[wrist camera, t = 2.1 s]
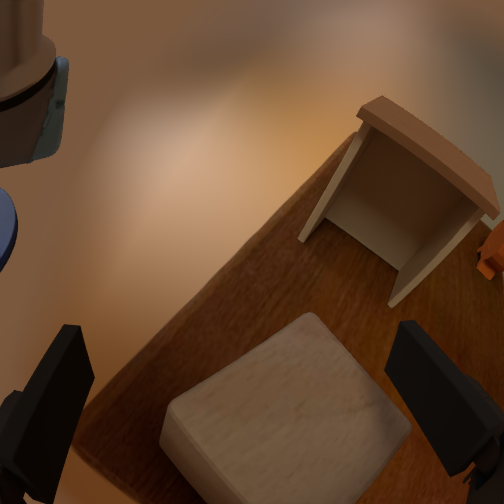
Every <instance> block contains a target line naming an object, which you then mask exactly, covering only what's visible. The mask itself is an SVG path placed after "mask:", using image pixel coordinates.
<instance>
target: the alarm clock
mask: <svg viewBox="0 0 504 504" xmlns="http://www.w3.org/2000/svg"><path fill="white" fill-rule="evenodd" d="M478 253H479V254H480V255H481V259H480V260H479V262H478V263H477V269H478V270H479V271H480V272H481V273H482V274H483V275H484V276H485V277H486V278H487V279H488V280H489V281H490V280H491V278H492V277H493V276H494V274H495V273H496V272H497V273H499V272H503V271H504V220H503V221H502V222H500V223H499V224H498V225H497V226H496V227H495V228H494V229H493V231H492V232H491V233H490V235H489V236H488V238H487V239H486V241H485V243H484V245H482V246H481V247H480V248H478Z"/></svg>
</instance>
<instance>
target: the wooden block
mask: <svg viewBox="0 0 504 504" xmlns="http://www.w3.org/2000/svg"><path fill="white" fill-rule="evenodd" d="M411 430H412V425H411V423H410V422H409V420H408V419H407V418H406V417H405V416H404V415H403V414H402V412H401V411H400V410H399V409H398V408H397V407H396V406H395V404H394V403H393V402H392V401H391V400H390V399H389V398H388V396H387V395H386V394H385V393H384V392H383V391H382V390H381V388H380V387H379V386H378V385H377V384H376V383H375V382H374V380H373V379H372V378H371V377H370V376H369V375H368V374H367V372H366V371H365V370H364V369H363V368H362V367H361V366H360V364H359V363H358V362H357V361H356V360H355V359H354V358H353V357H352V355H351V354H350V353H349V352H348V351H347V350H346V349H345V347H344V346H343V345H342V344H341V343H340V342H339V341H338V339H337V338H336V337H335V336H334V335H333V334H332V333H331V332H330V330H329V329H328V328H327V327H326V326H325V325H324V324H323V322H322V321H321V320H320V319H319V318H318V317H317V316H316V315H315V314H314V313H312V312H309V313H305V314H303V315H301V316H300V317H299V318H297V319H296V320H294V321H293V322H292V323H290V324H289V325H287V326H286V327H285V328H283V329H282V330H280V331H279V332H277V333H276V334H274V335H273V336H272V337H270V338H269V339H267V340H266V341H264V342H263V343H261V344H260V345H258V346H257V347H255V348H254V349H252V350H251V351H249V352H248V353H246V354H245V355H243V356H242V357H240V358H239V359H237V360H236V361H234V362H233V363H231V364H230V365H228V366H226V367H225V368H223V369H222V370H220V371H219V372H217V373H215V374H214V375H212V376H211V377H209V378H207V379H206V380H204V381H203V382H201V383H199V384H198V385H196V386H195V387H193V388H191V389H190V390H188V391H186V392H185V393H183V394H181V395H180V396H178V397H176V398H175V399H173V400H172V401H171V402H170V404H169V405H168V408H167V412H166V416H165V420H164V424H163V428H162V432H161V436H160V440H159V445H160V447H161V448H162V449H163V451H164V452H165V453H166V455H167V456H168V457H169V459H170V460H171V461H172V462H173V464H174V465H175V466H176V468H177V469H178V470H179V471H180V473H181V474H182V475H183V476H184V477H185V479H186V480H187V481H188V482H189V483H190V485H191V486H192V487H193V488H194V489H195V490H196V492H197V493H198V494H199V495H200V496H201V497H202V498H203V500H204V501H205V502H206V503H207V504H354V503H355V502H356V501H357V500H358V499H359V498H360V497H361V495H362V494H363V493H364V492H365V491H366V490H367V489H368V487H369V486H370V485H371V484H372V483H373V481H374V480H375V479H376V478H377V476H378V475H379V474H380V473H381V471H382V470H383V469H384V468H385V466H386V465H387V464H388V462H389V461H390V460H391V458H392V457H393V456H394V454H395V453H396V452H397V450H398V449H399V448H400V446H401V445H402V443H403V442H404V441H405V439H406V438H407V436H408V435H409V433H410V432H411Z"/></svg>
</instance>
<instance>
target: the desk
mask: <svg viewBox="0 0 504 504" xmlns="http://www.w3.org/2000/svg"><path fill="white" fill-rule="evenodd" d="M356 116H357V117H358V118H360V119H361V120H363V123H362V125H361V127H360V129H359V130H358V132H357V134H356V136H355V138H354V139H353V141H352V143H351V145H350V147H349V149H348V150H347V152H346V154H345V156H344V158H343V159H342V161H341V163H340V165H339V167H338V168H337V170H336V172H335V174H334V176H333V177H332V179H331V181H330V183H329V185H328V186H327V188H326V190H325V192H324V193H323V195H322V197H321V199H320V200H319V202H318V204H317V206H316V207H315V209H314V211H313V213H312V214H311V216H310V218H309V220H308V221H307V223H306V225H305V227H304V228H303V230H302V232H301V233H300V235H299V237H298V240H299V241H301V242H302V243H304V242H305V241H306V239H307V238H308V237H309V236H310V235H311V233H312V232H313V231H314V230H315V229H316V227H317V226H318V225H319V224H320V223H321V221H322V220H323V219H324V218H325V217H326V218H327V219H328V220H330V221H331V222H333V223H334V224H336V225H337V226H338V227H340V228H341V229H343V230H344V231H345V232H347V233H348V234H350V235H351V236H352V237H354V238H355V239H356V240H358V241H359V242H361V243H362V244H363V245H365V246H366V247H367V248H369V249H370V250H371V251H373V252H374V253H375V254H377V255H378V256H379V257H381V258H382V259H383V260H385V261H386V262H387V263H389V264H390V265H391V266H393V267H394V268H395V269H397V270H398V271H399V272H398V275H397V278H396V280H395V283H394V286H393V289H392V292H391V294H390V297H389V300H388V303H387V305H388V306H389V307H391V308H393V307H394V306H395V305H396V304H398V303H399V302H400V301H401V300H402V299H403V298H404V297H405V296H406V295H407V294H408V293H409V292H411V291H412V290H413V289H414V288H415V287H416V286H417V285H418V284H419V283H420V282H421V281H422V280H423V279H424V278H425V277H426V276H427V275H428V274H429V273H430V272H431V271H432V270H433V269H434V268H435V267H436V266H437V265H438V264H439V263H440V262H441V261H442V260H443V259H444V258H445V257H446V256H447V255H448V254H449V253H450V252H451V251H452V250H453V249H454V248H455V247H456V246H457V244H458V243H459V242H460V241H461V240H462V239H463V238H464V237H465V236H466V235H467V234H468V232H469V231H470V230H471V229H472V228H473V227H474V226H475V225H476V223H477V222H478V221H479V220H480V219H481V218H482V217H483V215H484V214H485V213H486V214H487V215H488V216H489V217H490V218H491V219H492V220H494V219H495V218H496V217H497V216H498V215H499V214H500V208H499V204H498V200H497V197H496V193H495V190H494V186H493V183H492V179H491V176H490V175H489V174H488V173H487V172H485V171H484V170H483V169H482V168H481V167H480V166H479V165H477V164H476V163H475V162H474V161H473V160H471V159H470V158H469V157H468V156H467V155H465V154H464V153H463V152H462V151H461V150H459V149H458V148H457V147H455V146H454V145H453V144H452V143H450V142H449V141H448V140H447V139H445V138H444V137H443V136H441V135H440V134H439V133H437V132H436V131H435V130H433V129H432V128H431V127H429V126H428V125H426V124H425V123H423V122H422V121H421V120H419V119H418V118H416V117H415V116H414V115H412V114H411V113H409V112H408V111H406V110H404V109H403V108H401V107H400V106H398V105H397V104H395V103H394V102H392V101H391V100H389V99H387V98H386V97H384V96H380V97H378V98H376V99H374V100H372V101H371V102H369V103H367V104H365V105H363V106H362V107H361V108H360V110H359V112H358V114H357V115H356Z"/></svg>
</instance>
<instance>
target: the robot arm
mask: <svg viewBox="0 0 504 504" xmlns="http://www.w3.org/2000/svg"><path fill="white" fill-rule="evenodd" d="M43 6H44V0H0V168H4V167H9V166H14V165H19V164H24V163H27V164H28V163H31V162H32V161H34V160H38V159H42V158H46V157H49V156H52V155H53V154H55V153H56V151H57V150H58V148H59V146H60V143H61V138H62V130H63V121H64V110H65V106H64V104H65V98H66V92H67V82H68V71H69V61H68V59H67V58H61V57H59V56H58V57H56V48H55V45H54V43H53V42H52V41H51V40H50V39H49V38H48V37H46V36H44V35H42V23H43ZM384 371H385V372H386V374H387V375H388V377H389V378H390V380H391V381H392V383H393V384H394V386H395V388H396V389H397V391H398V392H399V394H400V395H401V397H402V399H403V400H404V402H405V403H406V405H407V407H408V408H409V410H410V411H411V413H412V415H413V416H414V418H415V419H416V421H417V423H418V424H419V426H420V428H421V429H422V431H423V432H424V434H425V436H426V437H427V439H428V441H429V442H430V444H431V446H432V447H433V449H434V451H435V452H436V454H437V456H438V457H439V459H440V461H441V463H442V464H443V466H444V468H445V469H446V471H447V473H448V475H449V476H450V477H452V476H454V475H457V474H459V473H461V472H463V471H465V470H466V469H467V468H468V466H469V465H470V464H471V463H472V462H473V461H474V463H475V464H476V466H475V467H474V468H473V470H472V471H471V472H470V473H469V474H468V475H467V476H466V477H465V478H464V480H463V483H464V484H465V483H466V482H467V481H468V479H469V478H470V477H471V481H470V482H469V483H468V484H469V485H470V487H469V493H468V497H467V502H466V504H504V412H503V411H502V410H501V409H500V408H499V406H498V405H497V404H496V403H495V402H494V400H493V399H492V398H491V397H489V395H488V393H487V392H486V391H484V389H483V387H482V386H481V385H480V384H479V383H478V382H477V381H476V380H475V379H473V378H472V377H470V376H469V375H467V374H466V375H463V373H462V372H461V371H460V370H459V369H458V368H457V367H456V365H455V364H454V363H453V362H452V361H451V360H450V359H449V357H448V356H447V355H446V354H445V353H444V352H443V351H442V350H441V349H440V347H439V346H438V345H437V344H436V343H435V342H434V341H433V340H432V339H431V338H430V336H429V335H428V334H427V333H426V332H425V331H424V330H423V329H422V328H421V327H420V326H419V325H418V324H417V322H416V321H415V320H408V321H400V324H399V327H398V330H397V334H396V337H395V340H394V343H393V346H392V349H391V352H390V355H389V358H388V361H387V364H386V367H385V369H384ZM94 379H95V377H94V373H93V370H92V367H91V364H90V360H89V357H88V353H87V350H86V346H85V342H84V339H83V334H82V331H81V326H78V325H66V324H64V325H63V327H62V328H61V330H60V331H59V333H58V334H57V336H56V337H55V339H54V340H53V342H52V344H51V345H50V347H49V348H48V350H47V352H46V353H45V355H44V356H43V358H42V360H41V361H40V363H39V365H38V366H37V368H36V370H35V371H34V373H33V375H32V376H31V378H30V380H29V382H28V383H27V385H26V387H25V389H24V390H23V392H21V391H16V390H14V391H13V392H12V393H11V394H10V395H8V396H7V397H6V398H5V400H4V401H3V403H2V405H1V406H0V504H27V503H26V502H25V500H24V499H23V497H24V494H25V492H26V493H27V494H28V495H29V496H30V497H31V498H32V499H33V500H36V501H39V502H42V503H45V504H53V502H54V498H55V495H56V491H57V487H58V484H59V480H60V477H61V473H62V470H63V467H64V464H65V460H66V457H67V454H68V451H69V448H70V445H71V442H72V439H73V436H74V433H75V430H76V427H77V424H78V421H79V419H80V416H81V413H82V410H83V407H84V405H85V402H86V399H87V397H88V394H89V391H90V388H91V386H92V384H93V381H94Z"/></svg>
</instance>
